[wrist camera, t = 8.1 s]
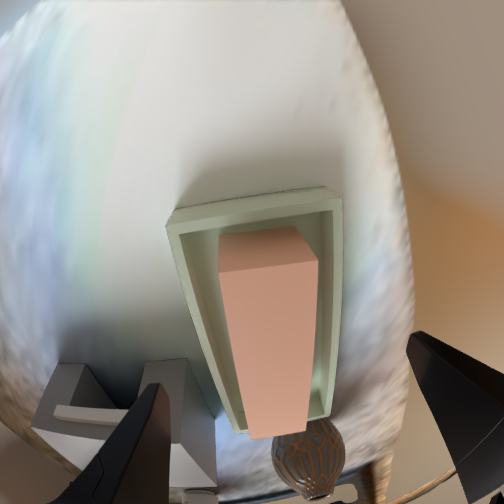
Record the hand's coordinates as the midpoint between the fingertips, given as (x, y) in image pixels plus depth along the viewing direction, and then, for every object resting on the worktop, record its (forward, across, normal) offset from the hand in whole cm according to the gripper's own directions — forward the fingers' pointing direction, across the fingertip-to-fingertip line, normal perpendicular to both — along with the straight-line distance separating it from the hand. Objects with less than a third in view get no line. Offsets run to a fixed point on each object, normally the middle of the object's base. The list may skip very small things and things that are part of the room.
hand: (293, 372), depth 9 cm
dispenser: (+8, +12, +11) cm, 18 cm away
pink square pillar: (+8, 0, +5) cm, 9 cm away
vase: (+8, -2, +19) cm, 21 cm away
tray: (+8, 0, +5) cm, 10 cm away
